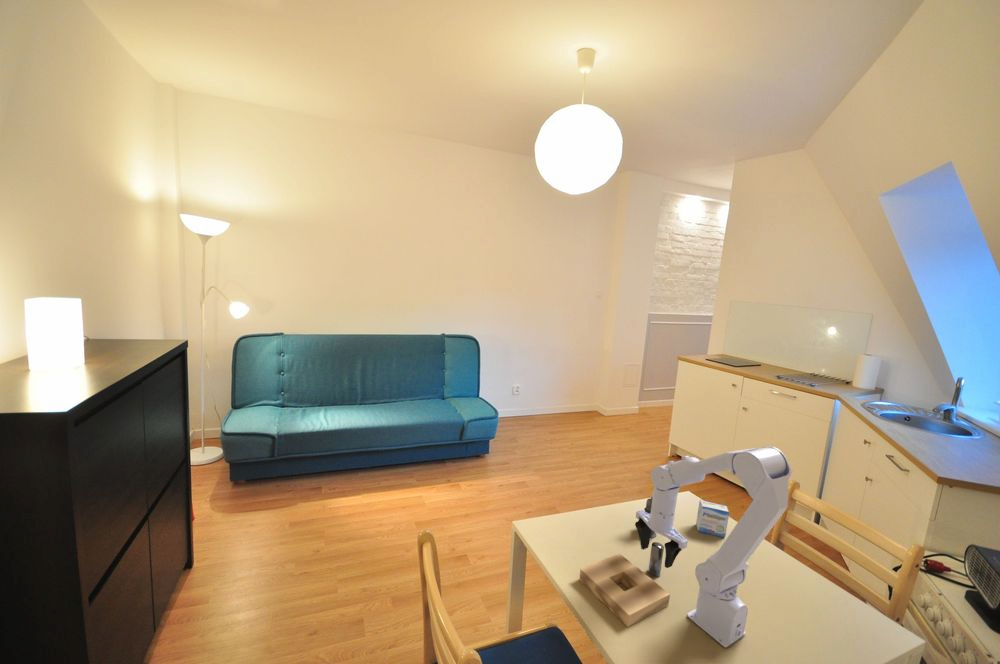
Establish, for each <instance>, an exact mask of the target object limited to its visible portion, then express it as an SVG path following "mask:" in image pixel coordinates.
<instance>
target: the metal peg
mask: <svg viewBox="0 0 1000 664" xmlns="http://www.w3.org/2000/svg"><path fill="white" fill-rule="evenodd" d="M650 549H651V550H650V554H649V555H650V557H649V561H648V569H647V572H648V574H649V575H650V576H651V577H654V578H660V576H661V572H662V571H661V570H662V564H663V557H664V550H665V545H663V544H662V543H661V542H657V541H654V542H652V543H651V548H650Z"/></svg>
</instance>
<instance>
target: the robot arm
mask: <svg viewBox="0 0 1000 664" xmlns="http://www.w3.org/2000/svg"><path fill="white" fill-rule="evenodd" d="M723 471H729V473H730V474H731V476H735V475H736V477H737V478H738V479H739V481H740V483H741V484H742V485H743V487H744V489H745V490H746V491H747V493H748V495H749V496H750V498H752V502H750V504H749V506H748V507H747V509H746V510H745V511H744V513H743V514H742V516H741V518H740V519H739V520H738V522H737V523H736V524H735V526H734V528H733V529H732V530H731V531H730V533H729V535H728V536H726V539H725V541H724V542H723V543H722V545H721V546H720V547H719V549H718V550H717V551H715V552H714V553H713V554H711V555H710V556H709V557H708V558H707V559H706V560H705V561H704V562H700V563H697V565H696V566H695V572H694V574H695V578H696V582H697V583H698V586H699V589H698V596H697V600H696V601H697V602H696V608H694V609H692V610H691V611H689V612H687V614H686V617H687V618H689V619H690V620H691V621H692V622H693V623H695V625H697V626H698V627H700V628H701V630H703V631H704V632H705V633H706V634H708V635H709V636H710V637H711V638H713V639H714V640H715V641H716V642H717V643H719V644H720V645H721V646H722V647H724V648H728V647H729V646H731V645H732V644H734V643H736V641H738V640H739V639H741V638H742V637H744V636H745V635H746V631H745V629H746V628H745V627H746V623H747V616H748V606H747V605H746V603H744V602H743V601H742V600H741V599H740V598H739V596H738V595H737V590H738V587H739V585H741V584H743V583H744V582H745V580H746V575H747V574H746V573H747V569H748V568H749V567H750V564H749V563H748V561H749V559H750V558H751V557H752V556H753V554H754V553H755V552H756V550H757V549H758V547H759V546H760V545H761V543H762V542H763V541H764V539H765V538H766V537H767V535H768V534H769V533H770V532H771V530H772V529H773V527H774V526H775V525H776V523H777V521H779V520H780V518H781V517H782V515H784V513H785V512H786V510H787V509H788V506H789V485H790V484H789V482H790V481H789V480H790V477H791V476H792V473H793V469H792V467H791V464H790V463H789V460H788V458H787V457H786V455H785V453H783V451H782V450H780V449H779V448H777V447H774V446H769V445H768V446H766V445H765V446H763V447H761V448H758V447H755V448H754V447H753V448H745V449H736V450H732V451H727V452H724V453H721V454H718V455H714V456H712V457H708V458H706V459H702V460H700V459H699V458H697V457H694V456H691V457H690V455H685V456H682V457H681V460H680V459H679V460H678V461H674V460H671V461H670V460H669V461H668V462H667V464H664V465H656V466H655V467H654V468H652V470H651V471H650V479H651V482H652V484H653V486H654V488H653V491H652V492H653V493H652V497H653V499H652V506H651V513H650V514H649V513H646V512H645V510H644V509H643V510H642V509H639V510H636V512H635V518H636V519H637V520H638V521H636V522H635V525H634V526H635V527H636V529H637V530H636V531H637V534H638V537H639V542H640V549H641V550H647V549H648V548H649V546H650V542H651V538H650V535H651V532H652V530H653V531H654V532H655V533H656V534H659V535H661V536H662V537H665V538H667V539H669V540H670V541H668V542H665V543H664V550H665V559H664V567H665V568H666V569H669V568H671V567H673V564H674V562H675V560H676V558H677V557H678V555H679V554H680V552H681V551H682V550H683V549H686V548H687V547H688V541H689V540H688V539H686V538H685V537H684V536H683V535H682V534H681V533H680V532H679V531H678V530H677V529H676V527H674V522H675V521H674V520H675V515H676V508H677V507H676V506H677V500H678V493H680V489H681V488H682V487H683V486H684V487H685V486H688V485H693V484H697V483H701V482H703V481H704V480H705V478H706V475H708V474H713V473H717V472H723Z"/></svg>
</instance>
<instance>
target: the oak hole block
mask: <svg viewBox="0 0 1000 664" xmlns="http://www.w3.org/2000/svg"><path fill="white" fill-rule="evenodd" d="M578 580H579V581H580V582H581V583H582V584H583V585H584V586H585V587H586V588H587V589H588V590H589V591H591V593H592V594H594V596H595V597H596V598H598V600H600V602H601V603H603V605H604V606H605V607H607V608H608V610H609V611H611V613H613V614H614V615H615V616H616V618H617V619H619V620H620V622H621V623H623V624H624V625H625V626H626V627H627V628H629V627H631V626H633V625H635V624H636V623H638V622H640V621H642V620H645V618H648V617H650V616H652V615H654V614H655V613H657V612H659V611H661V610H662V609H664V608H667V607H668V606H669V604H670V596H671V595H670V593H669V592H668V591H667V590H666V589H664V588H663V587H662V586H661V585H659V584H658V582H656V581H654V580H653V579H652V578H651V577H649V576H648V575H647V574H646V573H645V572H644V571H642V570H641V569H640V568H639V567H637V566H636V565H635V564H633V563H632V562H631V561H630V560H629V559H628V558H626V557H625V556H624V555H622V554H621V553H617V554H613V555H612V556H609V557H607V558H604V559H602V560H599V561H596V562H594V563H592V564H589V565H587V566H584V567H581V568H580V571H579V579H578ZM620 583H622V584H623V585H625V586H626V587H627V588H628V589H627V590H624V589H622V588H621V587H620V586H619V585H618V584H620Z"/></svg>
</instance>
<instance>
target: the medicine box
mask: <svg viewBox="0 0 1000 664" xmlns="http://www.w3.org/2000/svg"><path fill="white" fill-rule="evenodd" d="M729 518H730V511H729V508H728V506H727V505H724V504H721V503H720V504H719V503H715V502H710V501H706V500H699V502H698V508H697V514H696V522H695V526H696V528H697V532H699V533H703V534H708V535H712V536H715V537H716V536H717V537H721V538H726V535H727V530H728V529H727V528H728V523H729Z"/></svg>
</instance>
